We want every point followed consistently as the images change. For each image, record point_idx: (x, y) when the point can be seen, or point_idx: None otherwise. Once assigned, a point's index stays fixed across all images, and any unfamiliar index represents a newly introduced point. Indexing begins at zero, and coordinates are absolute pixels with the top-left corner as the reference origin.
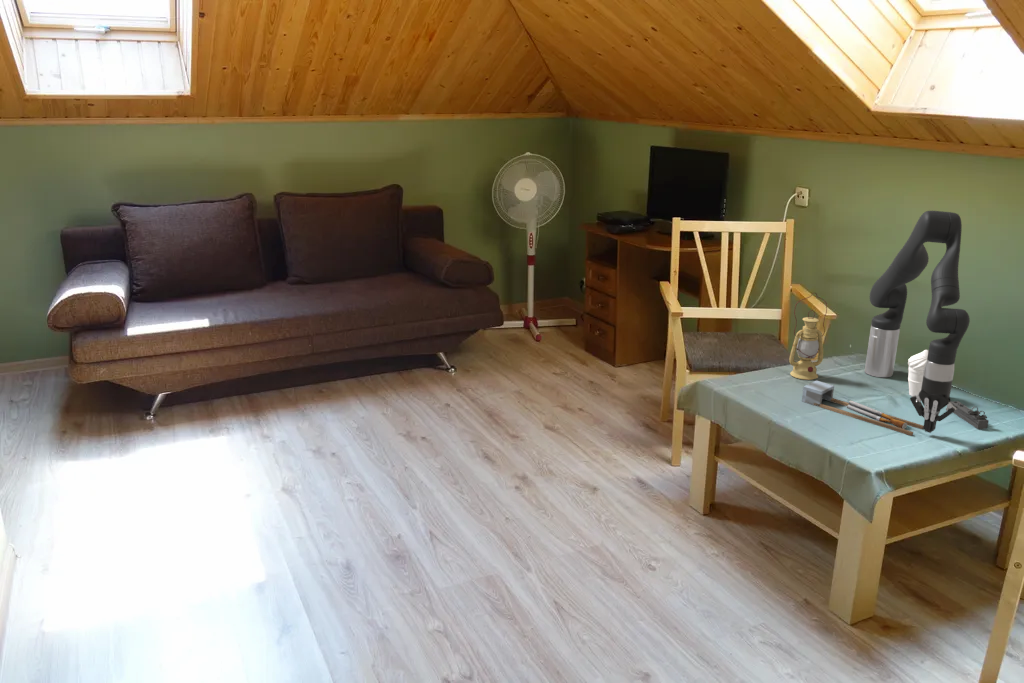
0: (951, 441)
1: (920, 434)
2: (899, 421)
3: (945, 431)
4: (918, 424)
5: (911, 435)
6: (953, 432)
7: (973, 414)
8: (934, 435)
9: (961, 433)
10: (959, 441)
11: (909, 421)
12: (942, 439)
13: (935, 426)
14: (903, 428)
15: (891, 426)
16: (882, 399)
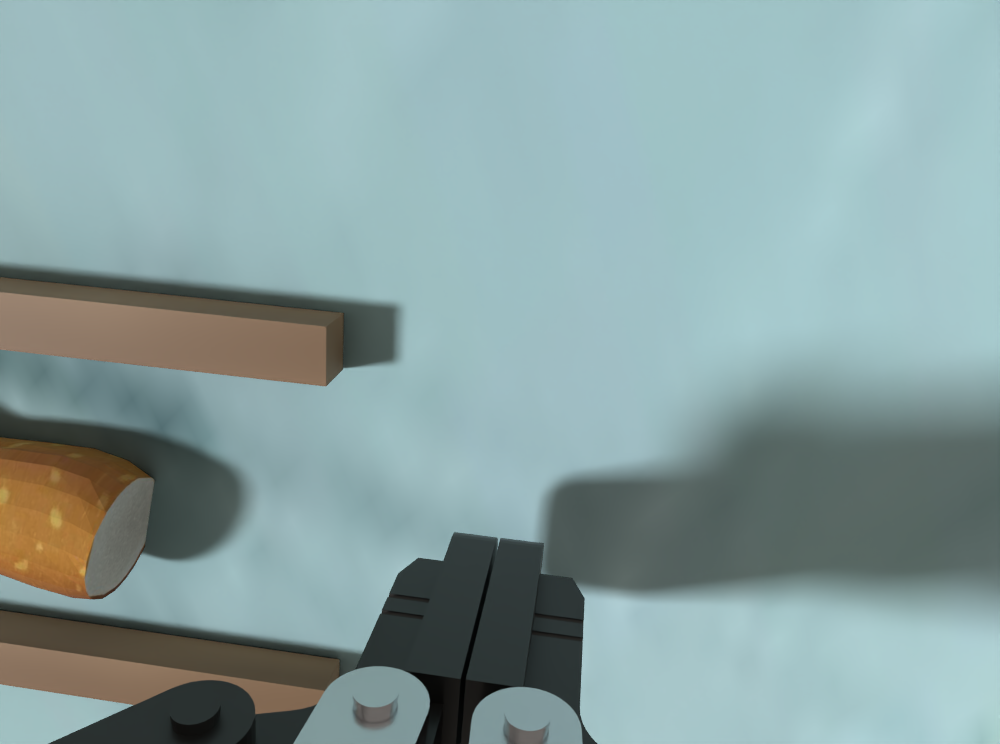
0: (872, 541)
1: None
2: (4, 567)
3: (682, 168)
4: (239, 336)
5: None
6: (822, 105)
7: None
8: (582, 477)
9: (973, 37)
10: (993, 459)
11: (75, 306)
12: (730, 552)
13: (581, 640)
14: (143, 534)
15: (21, 681)
16: None
